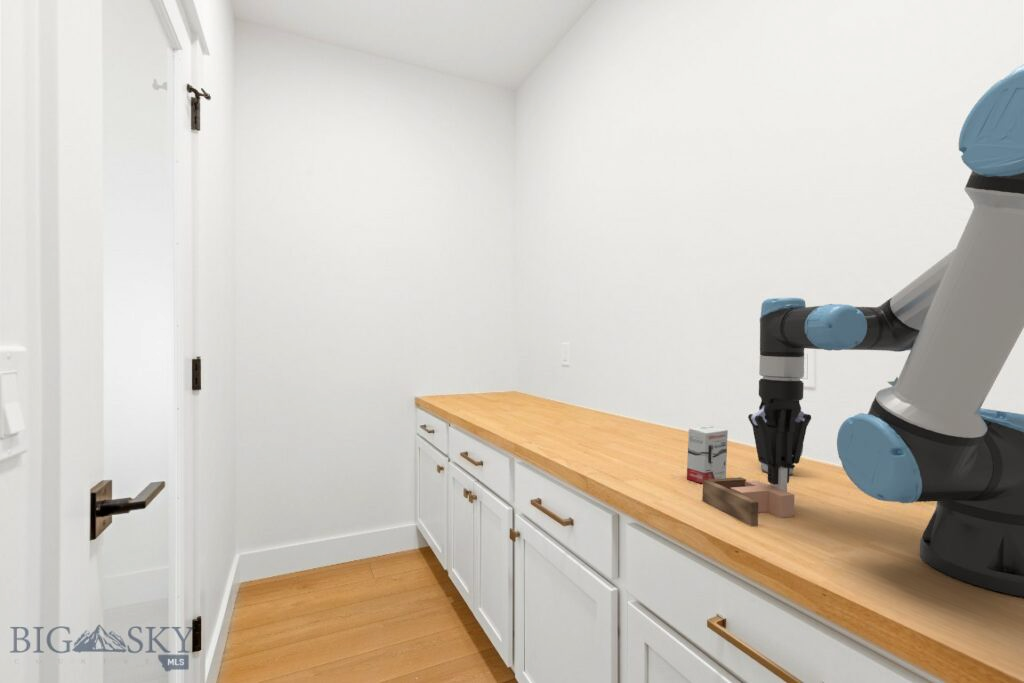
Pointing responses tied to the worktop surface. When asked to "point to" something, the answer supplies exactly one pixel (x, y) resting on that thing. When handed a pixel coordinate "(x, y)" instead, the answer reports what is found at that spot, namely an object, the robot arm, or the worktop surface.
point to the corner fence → (730, 499)
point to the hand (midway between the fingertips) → (777, 500)
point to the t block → (768, 498)
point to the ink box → (706, 453)
